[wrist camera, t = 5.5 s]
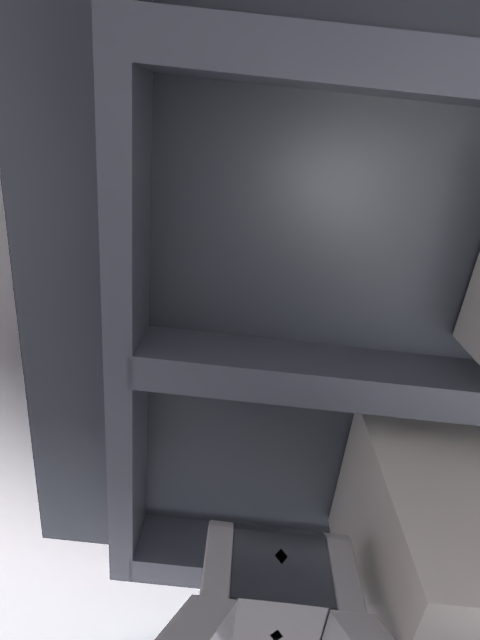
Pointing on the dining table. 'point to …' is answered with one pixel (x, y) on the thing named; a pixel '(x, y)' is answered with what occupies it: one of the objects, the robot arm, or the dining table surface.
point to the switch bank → (232, 252)
